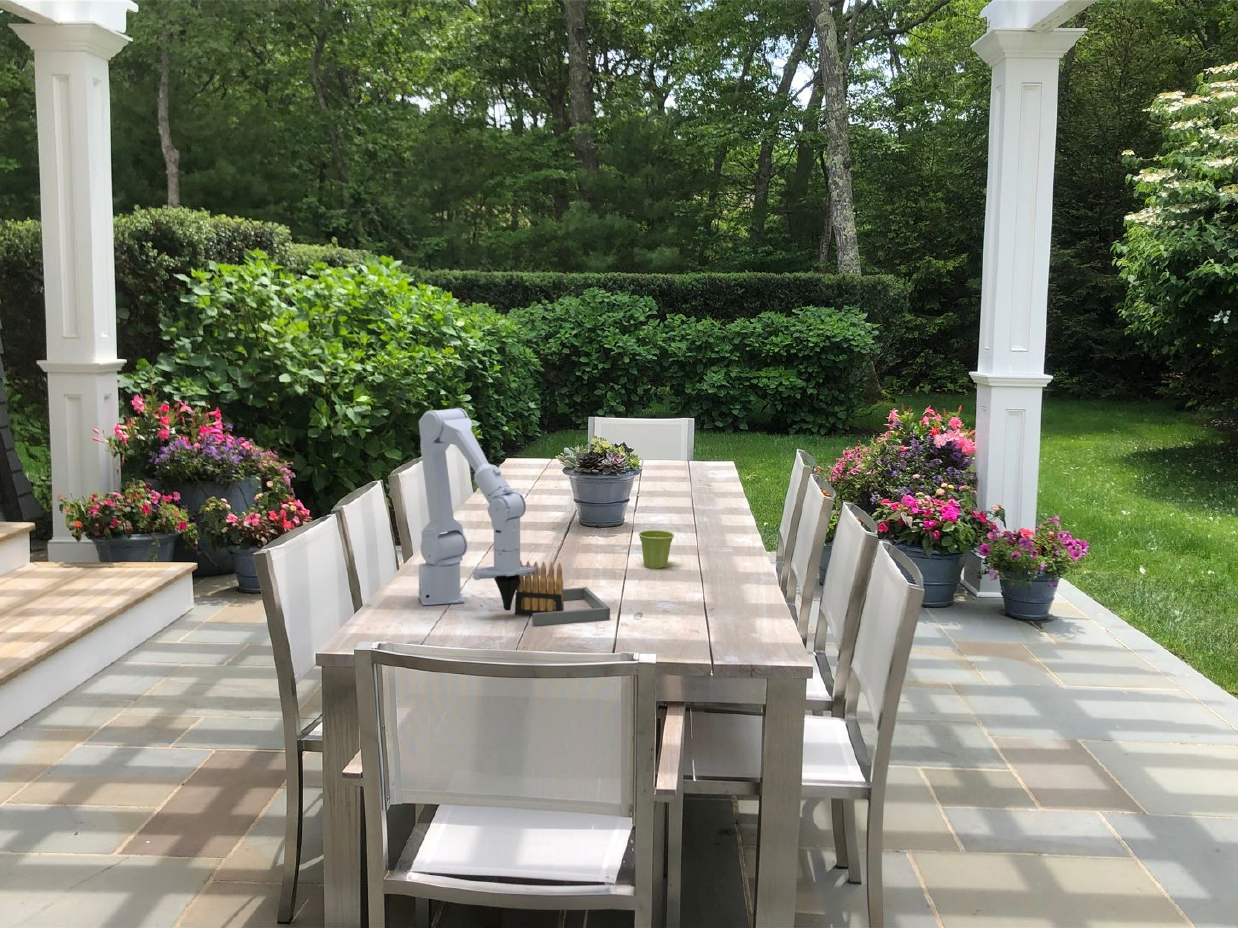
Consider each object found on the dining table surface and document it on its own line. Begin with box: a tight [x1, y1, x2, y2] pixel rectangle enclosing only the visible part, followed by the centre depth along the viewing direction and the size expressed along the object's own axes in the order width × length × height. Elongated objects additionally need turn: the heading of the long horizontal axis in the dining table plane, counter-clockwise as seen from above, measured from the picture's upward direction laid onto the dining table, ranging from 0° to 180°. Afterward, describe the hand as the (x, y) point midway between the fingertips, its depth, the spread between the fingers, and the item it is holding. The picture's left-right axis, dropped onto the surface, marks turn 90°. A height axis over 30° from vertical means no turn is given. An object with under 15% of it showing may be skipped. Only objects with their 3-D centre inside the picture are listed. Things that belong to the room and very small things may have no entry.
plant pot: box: [638, 529, 675, 570], centre depth 272 cm, size 9×9×9 cm
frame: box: [514, 586, 611, 627], centre depth 231 cm, size 17×18×2 cm
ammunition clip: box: [514, 559, 565, 617], centre depth 227 cm, size 11×2×12 cm, turn 80°
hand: (507, 609), depth 227 cm, fingers closed
